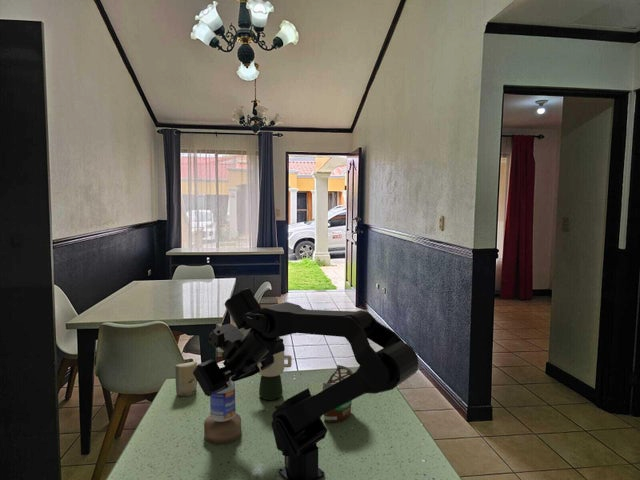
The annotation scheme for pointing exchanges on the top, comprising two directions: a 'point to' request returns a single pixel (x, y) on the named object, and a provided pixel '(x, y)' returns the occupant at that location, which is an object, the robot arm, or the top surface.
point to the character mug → (273, 377)
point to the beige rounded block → (185, 379)
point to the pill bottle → (223, 403)
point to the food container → (345, 410)
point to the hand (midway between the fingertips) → (218, 385)
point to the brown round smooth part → (222, 430)
